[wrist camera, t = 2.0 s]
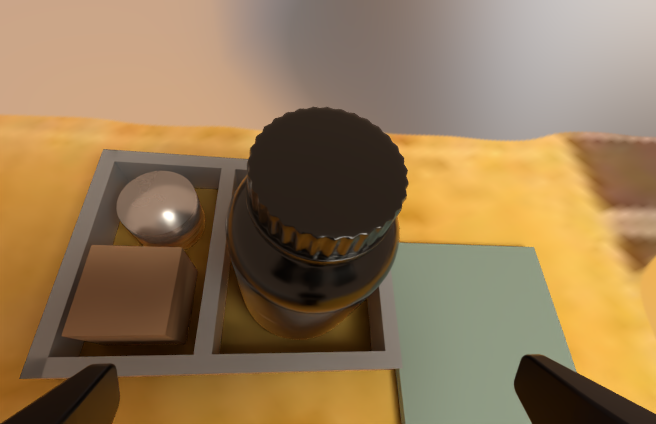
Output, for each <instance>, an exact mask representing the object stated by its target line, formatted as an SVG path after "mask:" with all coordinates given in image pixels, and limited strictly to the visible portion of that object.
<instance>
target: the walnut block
mask: <svg viewBox="0 0 656 424" xmlns="http://www.w3.org/2000/svg"><path fill="white" fill-rule="evenodd" d="M197 274H198V271H197V269H196V268H195V266H194V265H193V263H192V262H191V260H190V259H189V257H188V256H187V254H186V253H185V251H184V250H183V248H181V247H147V246H112V245H91V248H90V251H89V254H88V257H87V260H86V263H85V266H84V269H83V272H82V275H81V278H80V281H79V284H78V287H77V290H76V293H75V296H74V299H73V302H72V305H71V308H70V311H69V314H68V317H67V320H66V323H65V326H64V329H63V332H62V335H61V336H63V337H68V338H72V339H77V340H82V341H87V342H91V343H96V344H101V345H159V344H186V342H187V336H188V329H189V323H190V317H191V311H192V305H193V299H194V292H195V286H196V280H197Z"/></svg>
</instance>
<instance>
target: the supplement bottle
mask: <svg viewBox="0 0 656 424" xmlns="http://www.w3.org/2000/svg"><path fill="white" fill-rule="evenodd" d="M407 171H408V170H407V168H406V166H405V165H404V157H403V156H402V155H401V154H400V153H399V149H398V146H397V145H395V144H394V143H393V142H392V141H391V138H390V137H389V136H388V135H387V134H385V133H383V132H382V130H381V129H380V128H379V127H378V126H376V125H373V124H372V123H371V122H370V121H369V120H367V119H365V118H361V117H359V116H358V115H356V114H355V113H348V112H346V111H344V110H342V109H332V108H329V107H324V108H317V107H311V108H308V109H298V110H296V111H295V112H288V113H286V114H284V115H283V116H282V117H279V118H275V119H274V120H273V122H272V123H271V124H269V125H267V126H265V127H264V129H263V132H262V133H260V134H259V135H258V136H256V139H255V144H254V145H253V146H252V147H251V148H250V157H249V159H248V161H247V174H248V175H247V176H246V177H245V178H244V179H243V180H242V182H241V183H240V184H239V186H238V187H237V189H236V190H235V192H234V194H233V196H232V198H231V201H230V203H229V207H228V210H227V215H226V224H225V231H226V241H227V247H228V251H229V255H230V258H231V261H232V265H233V268H234V271H235V274H236V278H237V281H238V284H239V287H240V290H241V294H242V297H243V299H244V302H245V304H246V307H247V309H248V311H249V312H250V314H251V315H252V317H253V318H254V319H255V320H256V322H257V323H258V324H260V325H261V326H262V327H263V328H264V329H266V330H267V331H269V332H270V333H272V334H274V335H276V336H279V337H282V338H286V339H292V340H306V339H311V338H315V337H318V336H321V335H323V334H325V333H327V332H329V331H330V330H332V329H333V328H335V327H336V326H337V325H338V324H340V323H341V322H342V321H343V320H344V319H345V318H346V317H347V316H348V315H349V314H351V313H352V312H353V311H354V310H355V309H356V308H357V307H358V306H359V305H360V304H361V303H362V302H363V301H364V300H366V299H367V298H368V297H369V296H370V295H371V294H372V293H373V292H374V291H375V290H376V289H377V288H378V287H379V286H380V284H381V283H382V282H383V280H384V279H385V278H386V276H387V275H388V273H389V272H390V270H391V268H392V266H393V264H394V261H395V258H396V255H397V251H398V247H399V222H398V217H397V216H398V214H399V213H400V211H401V208H402V204H403V202H404V201H405V199H406V196H407V194H406V188H407V186H408V180H407V177H406V175H407Z"/></svg>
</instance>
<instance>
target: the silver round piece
mask: <svg viewBox="0 0 656 424" xmlns="http://www.w3.org/2000/svg"><path fill="white" fill-rule="evenodd" d="M116 209H117V214H118V217H119V219H120V221H121V222H122V224H123V225H124V226H125V227H126V228H127V229H128V230H129V231H130V232H131V233H132V234H133V235H134V236H135V237H136V238H137V239H138V240H139V242H140V243H141V244H142V245H143V246H147V247H181V248H183V250H186V249H188V248H190V247H191V246H193V245H194V244H195V243H196V242H197V241H198V240H199V239H200V237H201V236H202V234H203V232H204V229H205V224H206V219H205V214H204V212H203V209H202V207H201V204H200V202H199V199H198V197H197V194H196V192H195V189H194V187H193V185H192V184H191V183H190V181H189V180H188V179H186V178H185V177H184V176H182V175H180V174H177V173H175V172H170V171H154V172H149V173H146V174H143V175H140V176H139V177H137V178H135V179H133V180H132V181H131V182H129V183H128V184H127V185H126V186H125V187H124V189H123V190H122V191H121V193H120V195H119V197H118V200H117V207H116Z"/></svg>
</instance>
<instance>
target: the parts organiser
mask: <svg viewBox="0 0 656 424" xmlns="http://www.w3.org/2000/svg"><path fill="white" fill-rule="evenodd" d="M247 161H248V159H237V158H222V157H208V156H193V155H179V154H165V153H150V152H136V151H121V150H107V149H103V152H102V154H101V157H100V160H99V163H98V165H97V168H96V171H95V174H94V176H93V179H92V182H91V184H90V187H89V190H88V193H87V195H86V198H85V201H84V204H83V206H82V209H81V212H80V214H79V217H78V220H77V223H76V225H75V228H74V231H73V234H72V236H71V239H70V242H69V244H68V247H67V250H66V253H65V255H64V258H63V261H62V264H61V266H60V269H59V272H58V274H57V277H56V280H55V283H54V285H53V288H52V291H51V294H50V296H49V299H48V302H47V304H46V307H45V310H44V313H43V315H42V318H41V321H40V324H39V326H38V329H37V332H36V334H35V337H34V340H33V343H32V345H31V348H30V351H29V353H28V356H27V359H26V362H25V364H24V367H23V370H22V373H21V375H20V378H19V379H69V378H70V377H72V376H73V375H75V374H76V373H78V372H79V371H81V370H82V369H84V368H85V367H87V366H89V365H91V364H101V363H112V364H114V365H115V366H116V369H117V375H118V377H146V376H182V375H218V374H254V373H291V372H327V371H363V370H391V369H401V368H403V365H402V357H401V349H400V341H399V332H398V324H397V316H396V307H395V299H394V291H393V283H392V274H391V270H390V272H389V273H388V275H387V276H386V278H385V279H384V280H383V282H382V283H381V284H380V286H379V287H378V288H377V289H376V290H375V291H374V292H373V293H372V294H371V295H370V296H369V297H368V298H367V301H368V313H369V325H370V337H371V349H372V351H365V352H311V353H258V354H220V347H221V338H222V330H223V321H224V312H225V304H226V295H227V287H228V278H229V269H230V261H231V258H230V255H229V251H228V247H227V241H226V231H225V224H226V215H227V210H228V207H229V203H230V201H231V198H232V196H233V194H234V192H235V190H236V189H237V187H238V186H239V184H240V183H241V182H242V180H243V179H244V178H245V177H246V176H247V175H248V174H247ZM154 171H170V172H175V173H177V174H180V175H182V176H184V177H185V178H186V179H188V180H189V181H190V183H191V184H192V185H193V187H194V188H208V189H218V195H217V202H216V209H215V215H214V222H213V228H212V235H211V242H210V248H209V255H208V262H207V268H206V275H205V282H204V288H203V295H202V302H201V308H200V315H199V322H198V328H197V335H196V341H195V348H194V355H151V356H97V357H79V356H80V353H81V349H82V346H83V343H84V341H82V340H77V339H72V338H68V337H63V336H61V335H62V332H63V329H64V326H65V323H66V320H67V317H68V314H69V311H70V308H71V305H72V302H73V299H74V296H75V293H76V290H77V287H78V284H79V281H80V278H81V275H82V272H83V269H84V266H85V263H86V260H87V257H88V254H89V251H90V248H91V245H112V246H113V242H114V239H115V236H116V232H117V229H118V226H119V222H120V219H119V217H118V214H117V209H116V207H117V200H118V197H119V195H120V193H121V191H122V190H123V189H124V187H125V186H126V185H127V184H128V183H129V182H131V181H132V180H133V179H135V178H137V177H139V176H140V175H143V174H146V173H149V172H154Z"/></svg>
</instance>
